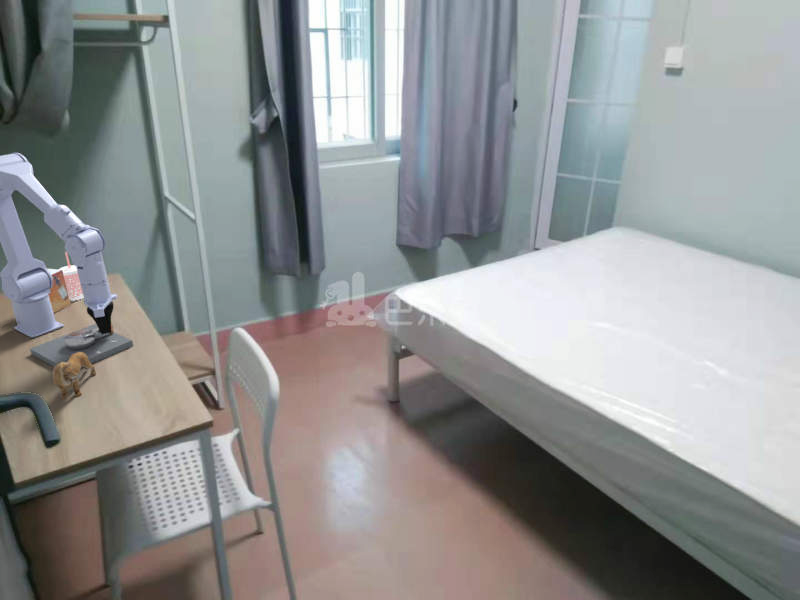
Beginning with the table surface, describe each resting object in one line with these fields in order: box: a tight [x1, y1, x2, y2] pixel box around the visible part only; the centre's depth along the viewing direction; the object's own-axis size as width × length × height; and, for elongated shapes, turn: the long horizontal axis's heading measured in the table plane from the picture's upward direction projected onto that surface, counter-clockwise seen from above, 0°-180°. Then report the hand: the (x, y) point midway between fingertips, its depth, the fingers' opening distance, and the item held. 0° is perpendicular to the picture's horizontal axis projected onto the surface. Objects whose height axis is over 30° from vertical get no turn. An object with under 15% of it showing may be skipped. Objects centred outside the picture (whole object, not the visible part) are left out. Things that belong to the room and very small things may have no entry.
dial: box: [64, 322, 115, 350], centre depth 137 cm, size 11×6×2 cm, turn 144°
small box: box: [47, 268, 71, 314], centre depth 156 cm, size 8×6×10 cm
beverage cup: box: [59, 251, 84, 302], centre depth 162 cm, size 6×6×14 cm
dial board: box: [29, 323, 134, 369], centre depth 136 cm, size 16×16×2 cm
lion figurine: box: [51, 352, 97, 400], centre depth 119 cm, size 15×5×9 cm, turn 14°
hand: (106, 332), depth 138 cm, fingers closed, pressing on dial
